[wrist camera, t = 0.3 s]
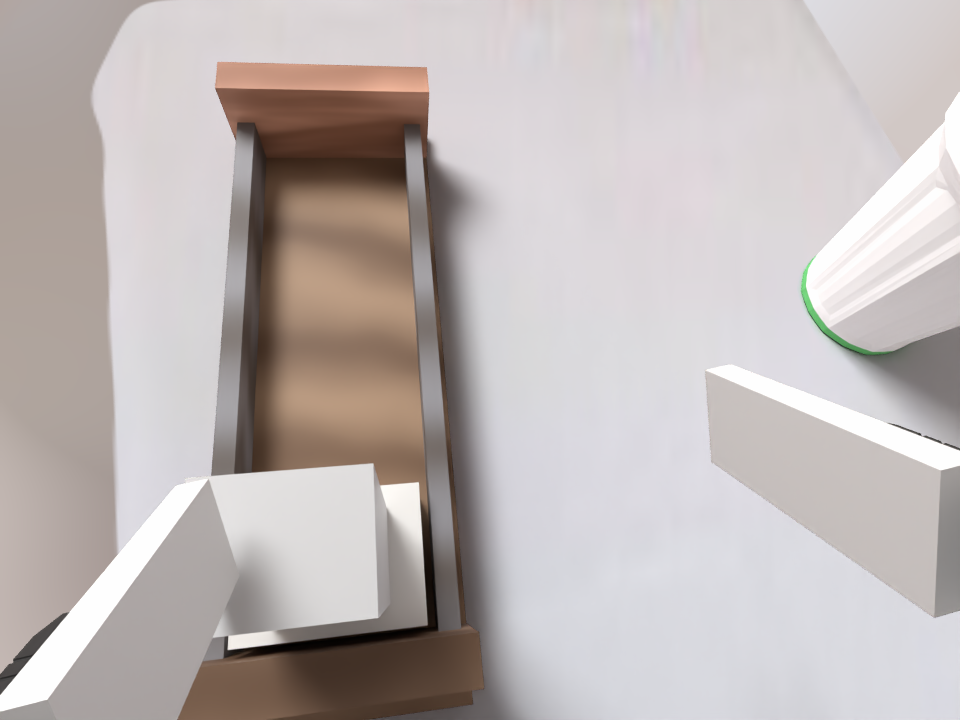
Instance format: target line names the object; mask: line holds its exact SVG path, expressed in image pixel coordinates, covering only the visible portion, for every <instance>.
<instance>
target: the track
mask: <svg viewBox="0 0 960 720" xmlns="http://www.w3.org/2000/svg"><path fill="white" fill-rule="evenodd" d="M215 89H216V92H217V94H218V97H219V99H220V102H221V104H222V107H223V109H224V112H225V114H226V117H227V119H228V122H229V125H230V127H231V130H232V132H233V135H234V137H235V140H236V147H235V161H234V174H233V188H232V202H231V215H230V229H229V242H228V256H227V270H226V283H225V297H224V311H223V324H222V338H221V351H220V365H219V379H218V392H217V406H216V420H215V433H214V447H213V460H212V474H211V476H219V475H231V474H244V473H257V472H269V471H282V470H295V469H308V468H320V467H333V466H346V465H359V464H371V463H373V464H374V467H375V471H376V474H377V477H378V480H379V484H380V486H381V485H393V484H404V483H416V482H419V494H420V510H421V526H422V542H423V558H424V574H425V590H426V607H427V623H428V625H427V626H419V627H411V628H403V629H394V630H386V631H378V632H370V633H362V634H354V635H346V636H338V637H329V638H321V639H313V640H305V641H297V642H289V643H281V644H273V645H265V646H256V647H248V648H240V649H232V650H228V636H224V637H215V638H212V640H211V642H210V645H209V647H208V649H207V652H206V654H205V656H204V659H203V661H202V663H201V666H200V668H199V670H198V673H197V675H196V677H195V679H194V682H193V684H192V686H191V689H190V691H189V693H188V696H187V698H186V700H185V703H184V705H183V707H182V710H181V712H180V714H179V717H178V719H177V720H369V719H376V718H383V717H390V716H397V715H403V714H410V713H417V712H424V711H431V710H438V709H444V708H451V707H458V706H465V705H472V704H473V698H472V691H473V690H480V689H484V681H483V670H482V659H481V648H480V638H479V632H478V631H477V630H475V629H474V628H473V627H471V626H470V625H468V624H467V623H466V616H465V604H464V593H463V581H462V569H461V557H460V546H459V534H458V522H457V510H456V499H455V487H454V475H453V464H452V452H451V440H450V428H449V417H448V405H447V393H446V381H445V370H444V358H443V346H442V335H441V323H440V311H439V299H438V288H437V276H436V264H435V252H434V241H433V229H432V217H431V206H430V194H429V182H428V170H427V159H426V157H427V132H428V107H429V86H428V75H427V67H390V66H352V65H314V64H276V63H238V62H218V63H217V73H216V84H215Z"/></svg>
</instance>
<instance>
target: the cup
mask: <svg viewBox="0 0 960 720" xmlns="http://www.w3.org/2000/svg"><path fill="white" fill-rule="evenodd" d="M801 292H802V295H803V298H804V302H805V304H806V307H807V309H808V312H809V313H810V315H811V316H812V318H813V319H814V321H815V322H816V323H817V325H818V326H819V327H820V329H821V330H822V331H823V332H824V333H825V334H827V335H828V336H829V337H831V338H832V339H833V340H835V341H836V342H838V343H839V344H841V345H842V346H844V347H847V348H849V349H851V350H854V351H857V352H860V353H863V354H866V355H878V354H888V353H890V352H892V351H895V350H897V349H899V348H902V347H904V346H906V345H908V344H909V343H912V342H915V341H918V340H921V339H923V338H926V337H929V336H932V335H935V334H938V333H941V332H944V331H947V330H950V329H952V328H955V327H958V326H960V92H959V93H958V95H957V97H956V98H955V100H954V101H953V103H952V104H951V106H950V107H949V109H948V110H947V112H946V114H945V122H944V123H943V124H942V125H941V126H940V127H939V128H938V129H937V131H935V133H934V134H933V135H932V136H931V137H930V138H929V139H928V140H927V141H926V142H925V143H924V144H923V145H922V146H921V147H920V148H919V149H918V150H917V151H916V152H915V153H914V154H913V156H911V158H910V159H909V160H908V161H907V162H906V163H905V164H904V165H903V166H902V167H901V168H900V169H899V170H898V171H897V172H896V173H895V174H894V175H893V176H892V177H891V178H890V179H889V180H888V182H887V183H886V184H885V185H884V186H883V187H882V188H881V189H880V190H879V191H878V192H877V193H876V194H875V195H874V196H873V197H872V198H871V199H870V200H869V201H868V202H867V203H866V204H865V206H864V207H863V208H862V209H861V210H860V211H859V212H858V213H857V214H856V215H855V216H854V217H853V218H852V219H851V220H850V221H849V222H848V223H847V224H846V225H845V226H844V227H843V228H842V230H841V231H840V232H839V233H838V234H837V235H836V236H835V237H834V238H833V239H832V240H831V241H830V242H829V243H828V244H827V245H826V246H825V247H824V248H823V249H822V250H821V251H820V252H819V254H818V255H817V256H815V257H814V258H813V259H812V260H811V262H810V263H809V264H808V266H807V268H806V269H805V271H804V273H803V279H802V288H801Z"/></svg>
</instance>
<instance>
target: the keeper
mask: <svg viewBox="0 0 960 720" xmlns="http://www.w3.org/2000/svg"><path fill="white" fill-rule="evenodd" d="M204 479H209V481H210V484H211V487H212V491H213V494H214V497H215V500H216V503H217V506H218V509H219V513H220V516H221V519H222V522H223V525H224V528H225V531H226V535H227V538H228V541H229V544H230V547H231V550H232V553H233V557H234V560H235V563H236V566H237V569H238V572H239V578H238V580H237V582H236V585H235V587H234V589H233V592H232V594H231V596H230V598H229V601H228V603H227V605H226V608H225V610H224V612H223V615H222V617H221V619H220V622H219V624H218V626H217V629H216V631H215V633H214V636H213V638H215V637H224V636H228V650H232V649H240V648H248V647H256V646H265V645H273V644H281V643H289V642H297V641H305V640H313V639H321V638H329V637H338V636H346V635H354V634H362V633H370V632H378V631H386V630H394V629H403V628H411V627H419V626H427V625H428V623H427V607H426V590H425V574H424V558H423V542H422V526H421V510H420V494H419V482H416V483H404V484H393V485H381V486H380V484H379V480H378V477H377V474H376V471H375V467H374V464H373V463H371V464H359V465H346V466H333V467H320V468H308V469H295V470H282V471H269V472H257V473H244V474H231V475H219V476H206V477H193V478H185V484H186V483H190V482H195V481H199V480H204Z"/></svg>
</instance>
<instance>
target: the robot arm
mask: <svg viewBox="0 0 960 720" xmlns="http://www.w3.org/2000/svg"><path fill="white" fill-rule="evenodd" d="M705 377H706V391H707V406H708V421H709V435H710V450H711V462H712V463H714V464H715V465H717V466H718V467H719V468H721V469H722V470H724V471H725V472H727V473H728V474H729V475H731V476H732V477H734V478H735V479H736V480H738V481H739V482H741V483H742V484H744V485H745V486H746V487H748V488H749V489H751V490H752V491H754V492H755V493H756V494H758V495H759V496H761V497H762V498H764V499H765V500H766V501H768V502H769V503H771V504H772V505H774V506H775V507H776V508H778V509H779V510H781V511H782V512H784V513H785V514H786V515H788V516H789V517H791V518H792V519H794V520H795V521H796V522H798V523H799V524H801V525H802V526H804V527H805V528H806V529H808V530H809V531H811V532H812V533H814V534H815V535H816V536H818V537H819V538H821V539H822V540H824V541H825V542H826V543H828V544H829V545H831V546H832V547H834V548H835V549H836V550H838V551H839V552H841V553H842V554H844V555H845V556H846V557H848V558H849V559H851V560H852V561H854V562H855V563H856V564H858V565H859V566H861V567H862V568H864V569H865V570H866V571H868V572H869V573H871V574H872V575H874V576H875V577H876V578H878V579H879V580H881V581H882V582H884V583H885V584H886V585H888V586H889V587H891V588H892V589H894V590H895V591H896V592H898V593H899V594H901V595H902V596H904V597H905V598H906V599H908V600H909V601H911V602H912V603H914V604H915V605H916V606H918V607H919V608H921V609H922V610H924V611H925V612H926V613H928V614H929V615H931V616H932V617H934V618H936V617H939V616H943V615H946V614H949V613H953V612H956V611H960V448H958V447H955V446H952V445H949V444H947V443H945V444H942V443H941V441H939V440H936V439H933V438H931V437H928V436H921V434H920V433H917V432H915V431H912V430H909V429H907V428H904V427H901V426H899V425H895V424H890V423H885V422H882V421H879V420H877V419H874V418H872V417H869V416H866V415H864V414H861V413H858V412H856V411H853V410H850V409H848V408H845V407H842V406H840V405H837V404H834V403H832V402H829V401H826V400H824V399H821V398H819V397H816V396H813V395H811V394H808V393H805V392H803V391H800V390H797V389H795V388H792V387H789V386H787V385H784V384H781V383H779V382H776V381H774V380H771V379H768V378H766V377H763V376H760V375H758V374H755V373H752V372H750V371H747V370H744V369H742V368H739V367H736V366H734V365H731V364H730V365H726V366H721V367H716V368H712V369H707V370H705ZM238 578H239V572H238V569H237V566H236V563H235V560H234V557H233V553H232V550H231V547H230V544H229V541H228V538H227V535H226V531H225V528H224V525H223V522H222V519H221V516H220V513H219V509H218V506H217V503H216V500H215V497H214V494H213V491H212V487H211V484H210V481H209V479H204V480H199V481H195V482H190V483H186V484H181V485H177V486H175V488H174V489H173V490H172V491H171V492H170V493H169V495H168V496H167V497H166V498H165V499H164V501H163V502H162V503H161V504H160V505H159V507H158V508H157V509H156V510H155V511H154V513H153V514H152V515H151V516H150V517H149V518H148V520H147V521H146V522H145V523H144V524H143V526H142V527H141V528H140V529H139V530H138V532H137V533H136V534H135V535H134V536H133V538H132V539H131V540H130V541H129V542H128V544H127V545H126V546H125V547H124V548H123V549H122V551H121V552H120V553H119V554H118V555H117V557H116V558H115V559H114V560H113V561H112V563H111V564H110V565H109V566H108V567H107V569H106V570H105V571H104V572H103V573H102V575H101V576H100V577H99V578H98V579H97V580H96V582H95V583H94V584H93V585H92V586H91V588H90V589H89V590H88V591H87V592H86V594H85V595H84V596H83V597H82V598H81V600H80V601H79V602H78V603H77V604H76V606H75V607H74V608H73V609H72V610H71V612H68V613H64V614H62V615H61V616H59V617H58V618H57V619H55V620H54V621H53V622H51V623H50V624H49V625H48V626H46V627H45V628H44V629H42V630H41V631H40V632H39V633H37V634H36V635H35V636H33V638H32V639H31V640H30V641H29V642H28V643H27V644H26V646H25V647H24V648H23V649H22V650H21V651H20V652H19V654H18V655H17V656H16V657H15V658H14V659H13V661H14V662H13V663H12V664H9V665H8V666H7V667H6V668H5V669H4V671H3V672H2V673H1V674H0V720H177V719H178V717H179V714H180V712H181V710H182V707H183V705H184V703H185V700H186V698H187V696H188V693H189V691H190V689H191V686H192V684H193V682H194V679H195V677H196V675H197V673H198V670H199V668H200V666H201V663H202V661H203V659H204V656H205V654H206V652H207V649H208V647H209V645H210V642H211V640H212V638H213V636H214V633H215V631H216V629H217V626H218V624H219V622H220V619H221V617H222V615H223V612H224V610H225V608H226V605H227V603H228V601H229V598H230V596H231V594H232V592H233V589H234V587H235V585H236V582H237V580H238Z"/></svg>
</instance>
